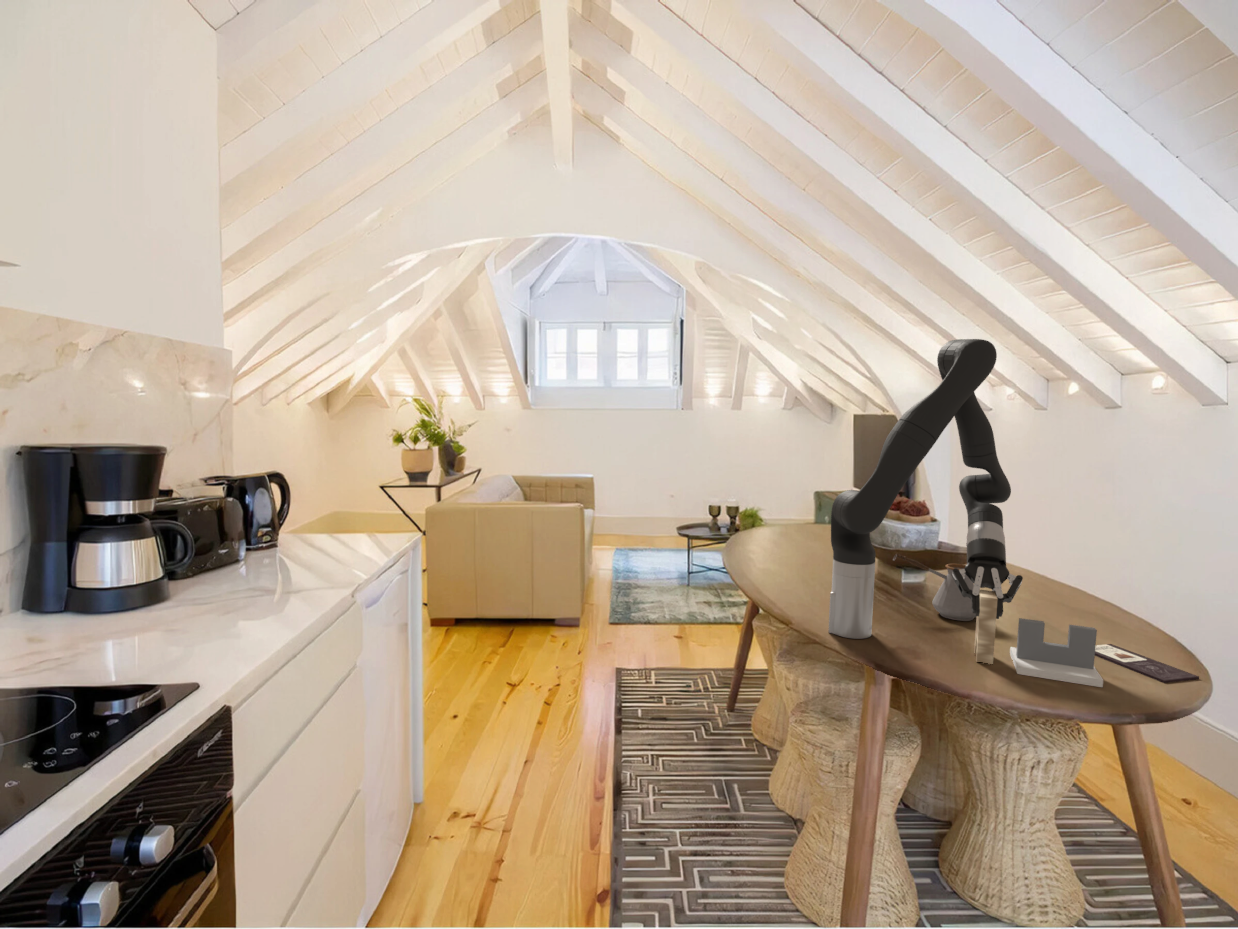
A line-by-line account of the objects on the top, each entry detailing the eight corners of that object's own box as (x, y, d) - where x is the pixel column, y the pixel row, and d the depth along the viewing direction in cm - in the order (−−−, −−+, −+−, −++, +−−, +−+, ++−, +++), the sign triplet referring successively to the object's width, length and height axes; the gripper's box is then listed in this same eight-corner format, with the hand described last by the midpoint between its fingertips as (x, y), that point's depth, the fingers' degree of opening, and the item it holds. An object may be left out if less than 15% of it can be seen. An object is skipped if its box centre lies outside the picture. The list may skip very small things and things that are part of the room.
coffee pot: (977, 612, 169) (980, 555, 168) (986, 626, 158) (990, 565, 157) (888, 603, 176) (891, 548, 174) (892, 615, 165) (895, 558, 164)
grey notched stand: (1017, 673, 130) (1020, 627, 129) (1009, 653, 141) (1012, 610, 140) (1102, 687, 124) (1106, 639, 123) (1087, 665, 135) (1091, 620, 134)
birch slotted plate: (976, 662, 135) (980, 596, 134) (974, 652, 141) (978, 589, 139) (992, 665, 134) (997, 598, 133) (990, 655, 140) (994, 591, 138)
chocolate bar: (1164, 680, 126) (1078, 647, 144) (1163, 685, 126) (1078, 651, 144) (1199, 676, 129) (1110, 643, 146) (1198, 681, 129) (1110, 648, 146)
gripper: (951, 534, 145) (950, 602, 135) (1025, 540, 139) (1030, 612, 129) (949, 552, 150) (948, 619, 140) (1019, 559, 144) (1024, 629, 134)
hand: (987, 615), depth 135 cm, fingers closed on birch slotted plate, 3 cm apart
